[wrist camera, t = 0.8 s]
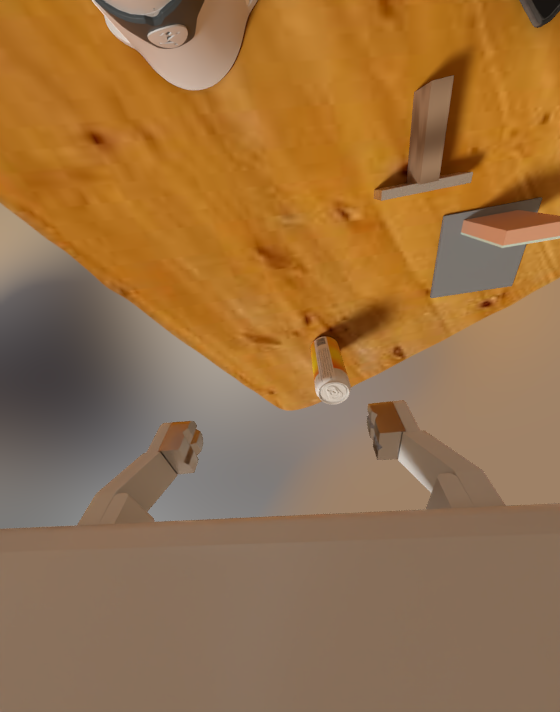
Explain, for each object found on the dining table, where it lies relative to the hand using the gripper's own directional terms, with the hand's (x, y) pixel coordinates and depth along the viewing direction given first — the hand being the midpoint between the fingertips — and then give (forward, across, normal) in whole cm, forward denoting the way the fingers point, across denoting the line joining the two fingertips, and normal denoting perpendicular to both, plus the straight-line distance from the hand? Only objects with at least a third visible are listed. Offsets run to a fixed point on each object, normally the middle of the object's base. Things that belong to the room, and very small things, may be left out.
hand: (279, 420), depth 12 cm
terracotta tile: (+39, -33, +2) cm, 51 cm away
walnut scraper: (+39, -21, -9) cm, 45 cm away
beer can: (+39, -5, +23) cm, 46 cm away
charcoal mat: (+39, -33, +8) cm, 52 cm away
